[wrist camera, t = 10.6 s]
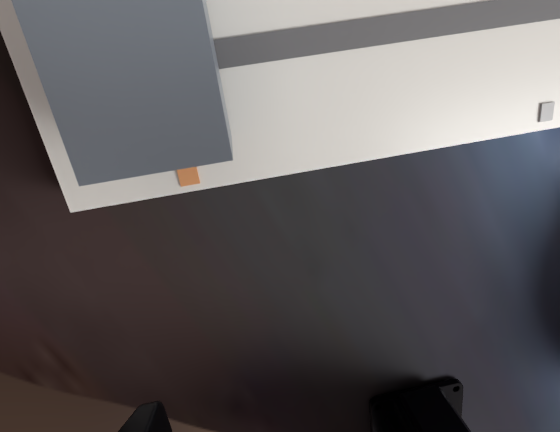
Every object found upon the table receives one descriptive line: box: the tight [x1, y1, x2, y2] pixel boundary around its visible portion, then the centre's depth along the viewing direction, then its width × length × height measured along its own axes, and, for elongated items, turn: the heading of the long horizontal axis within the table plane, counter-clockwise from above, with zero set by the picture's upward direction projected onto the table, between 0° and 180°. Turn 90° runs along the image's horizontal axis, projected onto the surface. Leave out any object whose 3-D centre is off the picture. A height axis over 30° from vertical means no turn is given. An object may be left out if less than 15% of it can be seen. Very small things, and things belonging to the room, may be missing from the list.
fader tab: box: [11, 0, 233, 186], centre depth 10 cm, size 6×4×5 cm, turn 8°
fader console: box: [0, 0, 560, 213], centre depth 15 cm, size 10×26×3 cm, turn 98°
